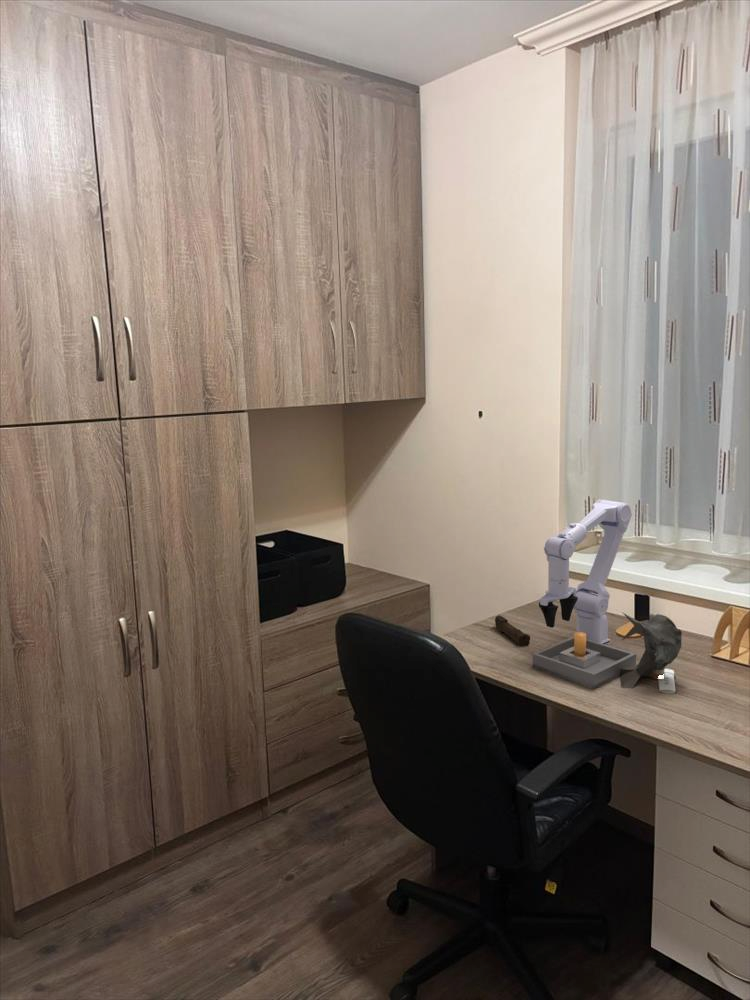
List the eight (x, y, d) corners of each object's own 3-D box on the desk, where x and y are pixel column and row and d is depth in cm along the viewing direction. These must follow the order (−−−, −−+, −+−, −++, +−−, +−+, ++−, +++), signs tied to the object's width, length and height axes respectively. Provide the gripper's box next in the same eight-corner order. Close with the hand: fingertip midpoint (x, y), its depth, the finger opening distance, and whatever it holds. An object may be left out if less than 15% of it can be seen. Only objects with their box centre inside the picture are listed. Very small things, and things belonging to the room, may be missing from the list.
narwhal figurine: (683, 692, 193) (686, 625, 190) (621, 687, 197) (623, 622, 194) (677, 670, 207) (679, 607, 203) (618, 666, 211) (620, 604, 207)
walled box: (574, 648, 224) (575, 635, 224) (635, 667, 209) (636, 653, 209) (532, 667, 212) (532, 653, 211) (594, 689, 197) (594, 674, 196)
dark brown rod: (530, 646, 228) (531, 631, 227) (518, 648, 227) (518, 633, 226) (503, 626, 246) (503, 612, 245) (492, 627, 245) (492, 614, 244)
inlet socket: (576, 653, 218) (576, 645, 218) (600, 661, 212) (600, 652, 212) (559, 661, 213) (559, 652, 213) (583, 669, 207) (583, 660, 206)
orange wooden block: (577, 657, 215) (578, 631, 213) (587, 660, 212) (588, 633, 211) (571, 661, 213) (572, 634, 211) (581, 664, 210) (582, 637, 209)
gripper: (561, 570, 224) (561, 614, 226) (531, 581, 215) (531, 626, 217) (582, 575, 219) (581, 619, 221) (552, 586, 209) (551, 632, 212)
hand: (558, 623), depth 219 cm, fingers open, 7 cm apart
